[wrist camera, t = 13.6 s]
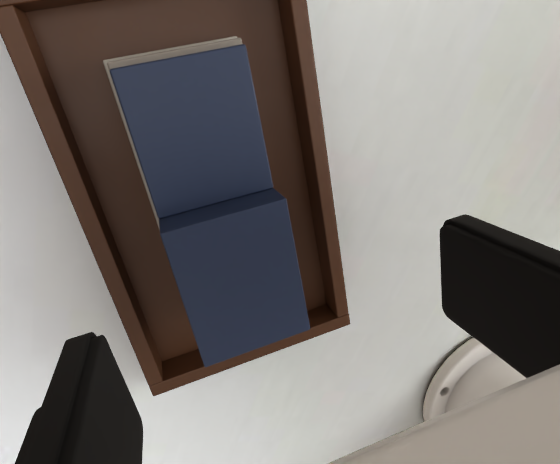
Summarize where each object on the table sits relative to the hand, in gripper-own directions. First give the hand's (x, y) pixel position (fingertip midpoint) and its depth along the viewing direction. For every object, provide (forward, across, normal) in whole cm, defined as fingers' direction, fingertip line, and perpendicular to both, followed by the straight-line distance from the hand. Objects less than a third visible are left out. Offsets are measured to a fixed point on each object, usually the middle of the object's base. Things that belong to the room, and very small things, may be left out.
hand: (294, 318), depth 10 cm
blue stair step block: (+12, +1, -1) cm, 13 cm away
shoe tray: (+13, 0, -1) cm, 13 cm away
